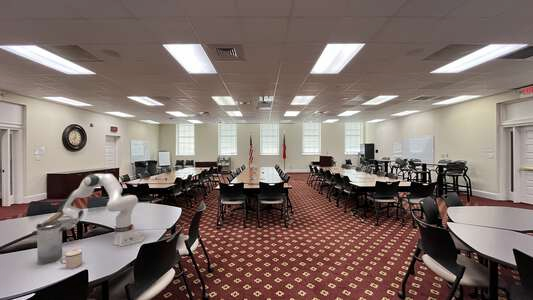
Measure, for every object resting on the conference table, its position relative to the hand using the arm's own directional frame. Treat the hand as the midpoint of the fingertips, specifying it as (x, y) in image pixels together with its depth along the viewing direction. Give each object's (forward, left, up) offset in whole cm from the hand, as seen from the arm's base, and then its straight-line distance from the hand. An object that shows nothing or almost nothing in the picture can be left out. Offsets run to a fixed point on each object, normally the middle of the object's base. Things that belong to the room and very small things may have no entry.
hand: (60, 216), depth 185 cm
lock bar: (0, +12, +1) cm, 12 cm away
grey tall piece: (0, +22, -26) cm, 34 cm away
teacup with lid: (-16, +39, -26) cm, 49 cm away
